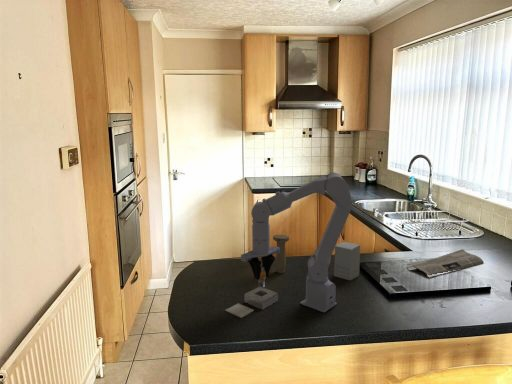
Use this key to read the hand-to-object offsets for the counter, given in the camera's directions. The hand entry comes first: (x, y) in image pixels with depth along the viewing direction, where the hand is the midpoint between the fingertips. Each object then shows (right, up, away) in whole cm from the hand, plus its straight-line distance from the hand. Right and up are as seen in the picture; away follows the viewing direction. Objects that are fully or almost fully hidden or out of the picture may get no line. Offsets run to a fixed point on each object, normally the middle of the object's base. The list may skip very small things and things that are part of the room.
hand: (261, 277), depth 131 cm
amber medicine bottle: (0, -3, 0) cm, 3 cm away
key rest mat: (-7, -10, -5) cm, 13 cm away
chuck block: (0, -9, +2) cm, 9 cm away
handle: (+8, -4, +27) cm, 29 cm away
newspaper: (+78, -3, +34) cm, 85 cm away
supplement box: (+34, -5, +23) cm, 42 cm away
